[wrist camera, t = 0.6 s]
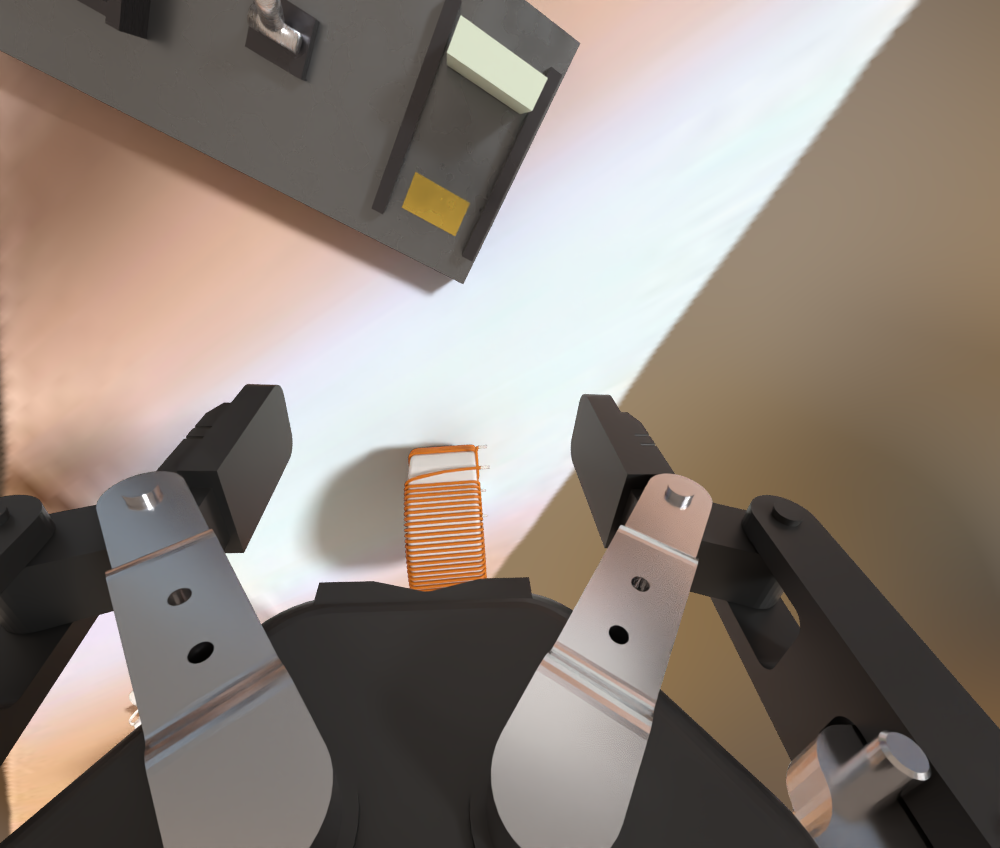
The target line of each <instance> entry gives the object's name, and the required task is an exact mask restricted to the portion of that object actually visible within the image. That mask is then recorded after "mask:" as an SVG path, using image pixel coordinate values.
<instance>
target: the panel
mask: <svg viewBox="0 0 1000 848" xmlns="http://www.w3.org/2000/svg"><path fill="white" fill-rule="evenodd" d="M280 1H281V6H282V10H283V14H284V18H285V24H287V25H288V26H290V27H291V28H293V29H295V30H296V31H298V32H299V33H301V34H302V44H301V48H300V51H299V53H298V54H297V55H296V54H294V53H293V52H291V51H289V50H288V49H286V48H284V47H283V46H281V45H279V44H278V43H276V42H275V41H273V40H271V39H270V38H268V37H266V36H265V35H263V34H261V33H260V32H258V31H257V30H255V29H253V28H252V27H250V26H249V25H248V22H247V16H248V11H249V8H250V6H251V4H255V2H254V0H0V51H2V52H4V53H6V54H8V55H10V56H12V57H14V58H16V59H18V60H20V61H22V62H24V63H26V64H28V65H30V66H32V67H34V68H36V69H38V70H40V71H42V72H44V73H46V74H48V75H50V76H52V77H54V78H56V79H58V80H60V81H62V82H64V83H66V84H68V85H70V86H72V87H74V88H76V89H78V90H80V91H82V92H84V93H86V94H88V95H89V96H91V97H93V98H95V99H97V100H99V101H101V102H103V103H105V104H107V105H109V106H111V107H113V108H115V109H117V110H119V111H121V112H123V113H125V114H127V115H129V116H131V117H133V118H135V119H137V120H139V121H141V122H143V123H145V124H147V125H149V126H151V127H153V128H155V129H157V130H159V131H161V132H163V133H165V134H167V135H169V136H171V137H173V138H175V139H177V140H179V141H181V142H183V143H185V144H187V145H189V146H191V147H193V148H194V149H196V150H198V151H200V152H202V153H204V154H206V155H208V156H210V157H212V158H214V159H216V160H218V161H220V162H222V163H224V164H226V165H228V166H230V167H232V168H234V169H236V170H238V171H240V172H242V173H244V174H246V175H248V176H250V177H252V178H254V179H256V180H258V181H260V182H262V183H264V184H266V185H268V186H270V187H272V188H274V189H276V190H278V191H280V192H282V193H284V194H286V195H288V196H290V197H292V198H294V199H296V200H298V201H300V202H301V203H303V204H305V205H307V206H309V207H311V208H313V209H315V210H317V211H319V212H321V213H323V214H325V215H327V216H329V217H331V218H333V219H335V220H337V221H339V222H341V223H343V224H345V225H347V226H349V227H351V228H353V229H355V230H357V231H359V232H361V233H363V234H365V235H367V236H369V237H371V238H373V239H375V240H377V241H379V242H381V243H383V244H385V245H387V246H389V247H391V248H393V249H395V250H397V251H399V252H401V253H403V254H405V255H406V256H408V257H410V258H412V259H414V260H416V261H418V262H420V263H422V264H424V265H426V266H428V267H430V268H432V269H434V270H436V271H438V272H440V273H442V274H444V275H446V276H448V277H450V278H452V279H454V280H456V281H458V282H460V283H462V284H464V281H465V279H466V277H467V275H468V273H469V271H470V269H471V267H472V265H473V263H474V261H475V259H476V257H477V255H478V253H479V251H480V249H481V246H482V244H483V242H484V240H485V238H486V236H487V234H488V232H489V230H490V228H491V226H492V224H493V222H494V220H495V218H496V216H497V214H498V211H499V209H500V207H501V205H502V203H503V201H504V199H505V197H506V195H507V193H508V191H509V189H510V187H511V185H512V183H513V181H514V179H515V177H516V174H517V172H518V170H519V168H520V166H521V164H522V162H523V160H524V158H525V156H526V154H527V152H528V150H529V148H530V146H531V144H532V142H533V139H534V137H535V135H536V133H537V131H538V129H539V127H540V125H541V123H542V121H543V119H544V117H545V115H546V113H547V111H548V109H549V107H550V104H551V102H552V100H553V98H554V96H555V94H556V92H557V90H558V88H559V86H560V84H561V82H562V80H563V78H564V76H565V74H566V72H567V69H568V67H569V65H570V63H571V61H572V59H573V57H574V55H575V53H576V51H577V49H578V47H579V45H580V43H579V42H578V41H577V40H575V39H574V38H573V37H572V36H570V35H569V34H568V33H566V32H565V31H564V30H563V29H561V28H560V27H559V26H557V25H556V24H555V23H554V22H552V21H551V20H550V19H548V18H547V17H546V16H545V15H543V14H542V13H541V12H539V11H538V10H537V9H536V8H534V7H533V6H532V5H530V4H529V3H528V2H527V1H525V0H280ZM461 15H462V16H463V17H464V18H466V19H467V20H468V21H470V22H471V23H473V24H474V25H475V26H477V27H478V28H479V29H481V30H482V31H484V32H485V33H486V34H488V35H489V36H490V37H492V38H493V39H495V40H496V41H497V42H499V43H500V44H502V45H503V46H504V47H506V48H507V49H508V50H510V51H511V52H513V53H514V54H515V55H517V56H518V57H519V58H521V59H522V60H524V61H525V62H526V63H528V64H529V65H531V66H532V67H533V68H535V69H536V70H537V71H539V72H540V73H542V74H543V75H544V76H546V77H547V78H548V79H547V81H546V83H545V85H544V87H543V89H542V91H541V94H540V96H539V98H538V100H537V102H536V104H535V106H534V108H533V111H530V112H527V113H523V114H519V113H517V112H516V111H514V110H513V109H511V108H510V107H508V106H507V105H505V104H504V103H502V102H501V101H499V100H498V99H496V98H495V97H494V96H492V95H491V94H489V93H488V92H486V91H485V90H483V89H482V88H480V87H479V86H477V85H476V84H474V83H473V82H471V81H470V80H468V79H467V78H465V77H464V76H462V75H461V74H460V73H458V72H457V71H455V70H454V69H452V68H451V67H449V66H448V65H447V51H448V48H449V45H450V43H451V40H452V37H453V34H454V32H455V29H456V26H457V24H458V21H459V18H460V16H461Z"/></svg>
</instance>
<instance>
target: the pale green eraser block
mask: <svg viewBox="0 0 1000 848" xmlns="http://www.w3.org/2000/svg"><path fill="white" fill-rule="evenodd" d="M447 65H448V66H449V67H451V68H452V69H454V70H455V71H457V72H458V73H460V74H461V75H462V76H464V77H465V78H467V79H468V80H470V81H471V82H473V83H474V84H476V85H477V86H479V87H480V88H482V89H483V90H485V91H486V92H488V93H489V94H491V95H492V96H494V97H495V98H496V99H498V100H499V101H501V102H502V103H504V104H505V105H507V106H508V107H510V108H511V109H513V110H514V111H516V112H517V113H519V114H523V113H527V112H530V111H533V108H534V106H535V104H536V102H537V100H538V98H539V96H540V94H541V91H542V89H543V87H544V85H545V83H546V81H547V79H548V78H547V77H546V76H544V75H543V74H542V73H540V72H539V71H537V70H536V69H535V68H533V67H532V66H531V65H529V64H528V63H526V62H525V61H524V60H522V59H521V58H519V57H518V56H517V55H515V54H514V53H513V52H511V51H510V50H508V49H507V48H506V47H504V46H503V45H502V44H500V43H499V42H497V41H496V40H495V39H493V38H492V37H490V36H489V35H488V34H486V33H485V32H484V31H482V30H481V29H479V28H478V27H477V26H475V25H474V24H473V23H471V22H470V21H468V20H467V19H466V18H464V17H463V16H462V15H461V16H460V18H459V21H458V24H457V26H456V29H455V32H454V34H453V37H452V40H451V43H450V45H449V48H448V51H447Z"/></svg>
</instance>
